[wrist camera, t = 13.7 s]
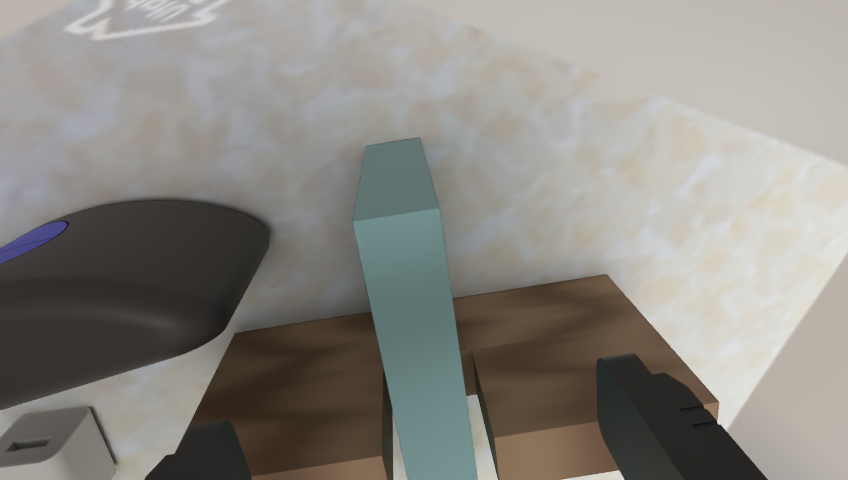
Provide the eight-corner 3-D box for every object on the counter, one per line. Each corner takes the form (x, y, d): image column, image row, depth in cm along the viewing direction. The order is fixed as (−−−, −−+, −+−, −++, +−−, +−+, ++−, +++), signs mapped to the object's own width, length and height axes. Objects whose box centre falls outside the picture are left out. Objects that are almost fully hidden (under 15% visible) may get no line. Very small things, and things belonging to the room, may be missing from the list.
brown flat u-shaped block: (247, 371, 28) (179, 540, 19) (234, 333, 27) (155, 491, 18) (607, 314, 28) (713, 454, 19) (606, 274, 27) (719, 401, 18)
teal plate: (427, 463, 31) (443, 644, 22) (366, 145, 24) (352, 222, 14) (467, 457, 32) (499, 635, 22) (419, 137, 24) (439, 207, 14)
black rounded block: (241, 155, 24) (156, 231, 15) (281, 242, 25) (226, 355, 17) (-75, 258, 24) (-330, 386, 16) (-15, 335, 26) (-214, 488, 18)
